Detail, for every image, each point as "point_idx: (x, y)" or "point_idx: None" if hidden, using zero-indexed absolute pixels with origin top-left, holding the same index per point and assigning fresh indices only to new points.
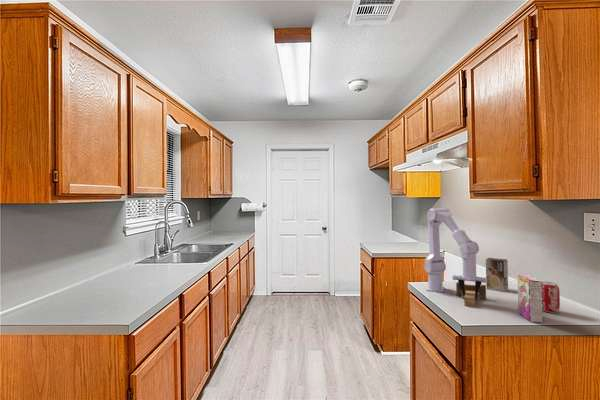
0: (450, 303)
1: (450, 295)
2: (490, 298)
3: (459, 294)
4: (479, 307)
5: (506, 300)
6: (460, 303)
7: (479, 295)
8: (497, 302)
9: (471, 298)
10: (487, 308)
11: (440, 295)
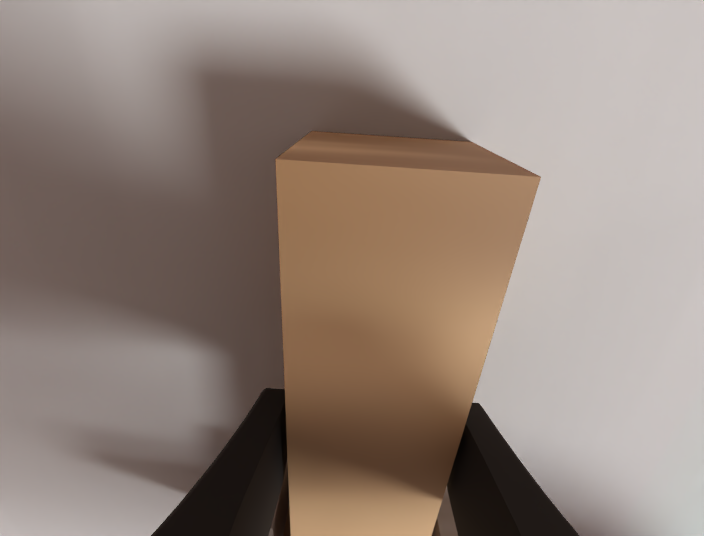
0: (684, 208)
1: None
2: None
3: None
4: (229, 138)
5: (37, 495)
6: None
7: None
8: (83, 426)
9: (345, 161)
10: (106, 125)
11: (679, 493)
